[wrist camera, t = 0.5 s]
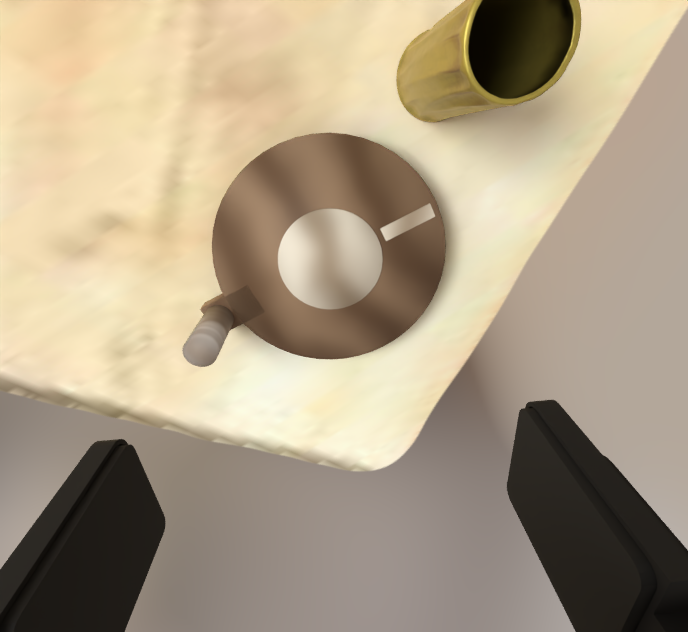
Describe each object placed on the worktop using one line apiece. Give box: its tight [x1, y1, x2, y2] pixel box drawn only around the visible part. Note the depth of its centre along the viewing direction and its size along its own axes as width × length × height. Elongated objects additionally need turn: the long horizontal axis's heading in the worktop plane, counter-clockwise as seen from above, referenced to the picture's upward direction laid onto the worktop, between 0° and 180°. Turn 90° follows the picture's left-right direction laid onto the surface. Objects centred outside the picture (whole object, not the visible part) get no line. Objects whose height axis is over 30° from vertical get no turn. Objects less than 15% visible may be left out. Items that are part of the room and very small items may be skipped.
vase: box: [397, 0, 581, 122], centre depth 23 cm, size 6×6×14 cm
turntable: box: [183, 133, 445, 367], centre depth 31 cm, size 23×20×8 cm
